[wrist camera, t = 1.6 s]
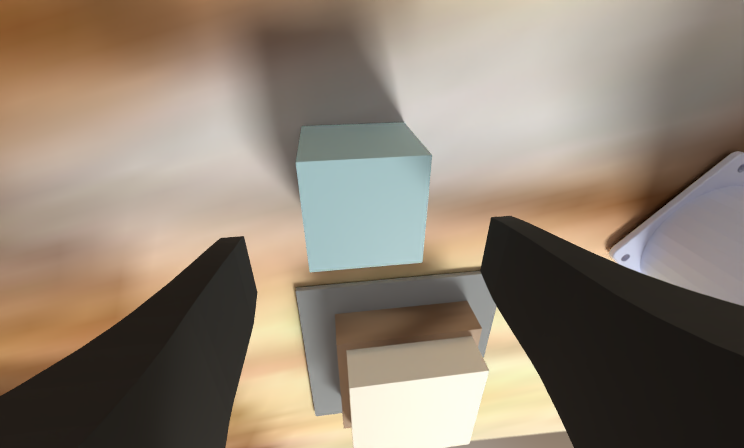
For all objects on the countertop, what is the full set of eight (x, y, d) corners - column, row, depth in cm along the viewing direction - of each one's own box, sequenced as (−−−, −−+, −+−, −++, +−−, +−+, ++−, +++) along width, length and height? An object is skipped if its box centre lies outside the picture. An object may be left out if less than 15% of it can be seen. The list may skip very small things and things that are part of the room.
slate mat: (502, 268, 20) (504, 271, 20) (472, 391, 26) (474, 395, 26) (295, 287, 19) (295, 291, 18) (315, 412, 25) (315, 416, 24)
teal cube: (403, 121, 15) (432, 155, 11) (399, 209, 17) (422, 262, 13) (301, 125, 14) (295, 161, 11) (311, 215, 17) (309, 272, 13)
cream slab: (472, 335, 19) (489, 370, 17) (456, 408, 22) (469, 443, 20) (346, 350, 18) (349, 388, 16) (351, 423, 22) (354, 461, 20)
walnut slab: (467, 300, 20) (482, 328, 19) (451, 382, 24) (462, 411, 23) (334, 314, 20) (336, 344, 18) (341, 396, 24) (343, 428, 22)
